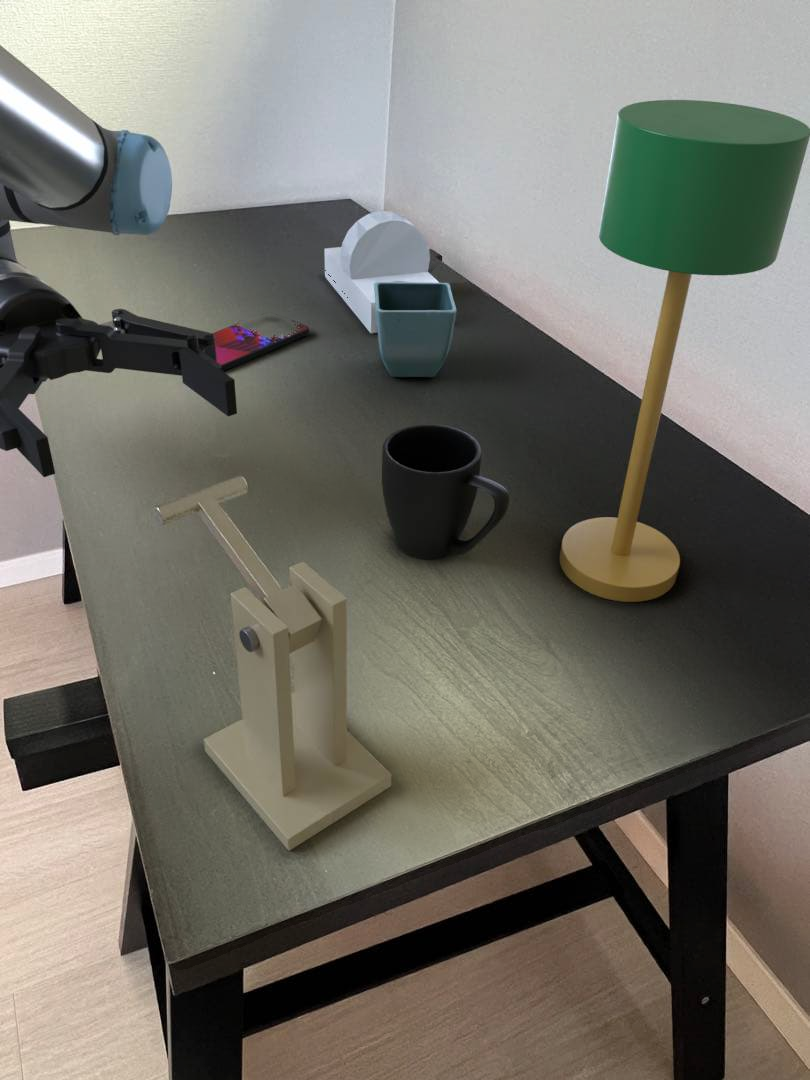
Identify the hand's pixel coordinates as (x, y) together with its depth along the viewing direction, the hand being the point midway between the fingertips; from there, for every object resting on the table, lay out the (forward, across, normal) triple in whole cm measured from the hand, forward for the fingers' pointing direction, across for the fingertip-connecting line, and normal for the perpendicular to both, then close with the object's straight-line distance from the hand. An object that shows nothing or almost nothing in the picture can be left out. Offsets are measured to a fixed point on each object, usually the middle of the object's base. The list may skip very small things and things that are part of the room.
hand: (144, 426), depth 64 cm
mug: (+6, -23, -18) cm, 29 cm away
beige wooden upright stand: (+18, +1, -17) cm, 25 cm away
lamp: (+17, -34, -17) cm, 41 cm away
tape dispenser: (-41, -54, -18) cm, 70 cm away
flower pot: (-23, -44, -18) cm, 52 cm away
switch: (+13, +1, -4) cm, 14 cm away
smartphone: (-40, -32, -17) cm, 54 cm away
